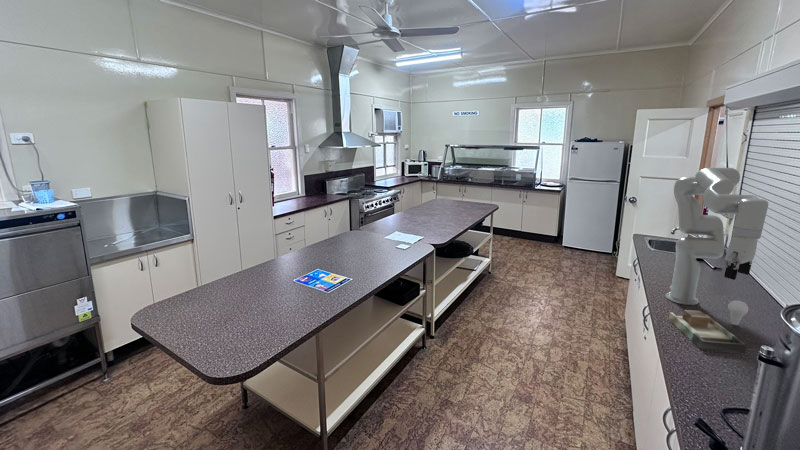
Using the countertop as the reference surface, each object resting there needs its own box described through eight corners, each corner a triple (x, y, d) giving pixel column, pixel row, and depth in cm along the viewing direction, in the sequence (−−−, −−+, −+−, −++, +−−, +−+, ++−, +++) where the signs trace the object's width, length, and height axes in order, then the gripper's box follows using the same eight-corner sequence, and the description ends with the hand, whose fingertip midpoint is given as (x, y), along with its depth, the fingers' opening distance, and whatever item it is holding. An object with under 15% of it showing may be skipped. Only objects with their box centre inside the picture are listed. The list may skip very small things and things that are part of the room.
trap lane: (668, 319, 153) (669, 312, 152) (705, 321, 150) (706, 314, 149) (701, 349, 131) (702, 341, 130) (745, 353, 128) (747, 345, 127)
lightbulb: (725, 325, 146) (730, 302, 144) (723, 319, 151) (728, 296, 148) (745, 330, 143) (750, 306, 140) (743, 324, 147) (748, 300, 145)
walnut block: (682, 318, 149) (683, 309, 149) (698, 319, 148) (700, 310, 147) (690, 325, 144) (692, 316, 143) (707, 326, 143) (709, 317, 142)
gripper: (745, 226, 134) (735, 268, 138) (721, 233, 127) (711, 276, 131) (772, 231, 127) (761, 274, 131) (748, 238, 120) (737, 284, 125)
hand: (736, 275), depth 131 cm, fingers open, 9 cm apart
